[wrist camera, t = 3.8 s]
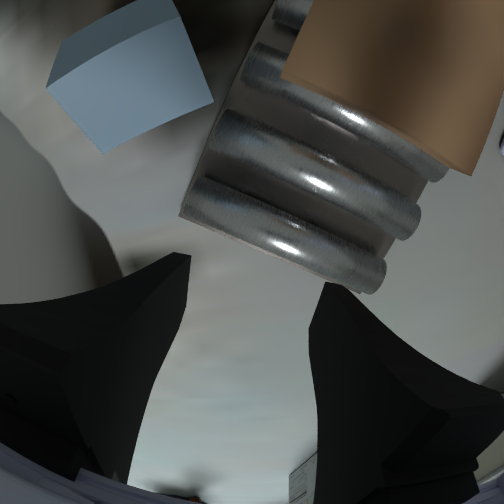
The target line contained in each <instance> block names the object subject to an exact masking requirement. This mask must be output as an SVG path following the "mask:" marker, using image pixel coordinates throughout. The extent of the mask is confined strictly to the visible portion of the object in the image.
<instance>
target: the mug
mask: <svg viewBox="0 0 504 504" xmlns="http://www.w3.org/2000/svg"><path fill="white" fill-rule="evenodd" d="M165 496H169V497H173V498H178V499H182V500H187V501H192V502H197V503H200V502H199V498H198V497H193V498H191V499H187V498H183V497H179V496H171V495H165ZM202 504H203V503H202Z"/></svg>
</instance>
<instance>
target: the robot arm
mask: <svg viewBox="0 0 504 504" xmlns="http://www.w3.org/2000/svg"><path fill="white" fill-rule="evenodd" d="M500 150H501V153H502V155H503V156H504V139H503V141H502V144H501V147H500ZM190 263H191V255H186V254H181V253H176V252H173V253H171V254H169V255H167V256H165V257H163V258H161V259H159V260H157V261H156V262H154V263H152V264H150V265H148V266H146V267H144V268H142V269H141V270H139V271H137V272H134V273H132V274H130V275H128V276H126V277H124V278H122V279H119V280H117V281H115V282H112V283H110V284H107V285H105V286H102V287H99V288H96V289H94V290H90V291H87V292H83V293H79V294H75V295H71V296H67V297H63V298H59V299H53V300H47V301H41V302H33V303H23V304H0V504H202V503H197V502H192V501H187V500H182V499H178V498H173V497H169V496H165V495H161V494H157V493H153V492H150V491H146V490H143V489H139V488H136V487H133V486H129V485H127V481H128V476H129V471H130V467H131V462H132V458H133V454H134V450H135V446H136V442H137V438H138V434H139V430H140V426H141V423H142V419H143V416H144V412H145V409H146V406H147V403H148V399H149V396H150V393H151V390H152V387H153V384H154V382H155V379H156V377H157V374H158V372H159V370H160V368H161V366H162V364H163V362H164V359H165V357H166V355H167V353H168V351H169V349H170V347H171V345H172V342H173V340H174V338H175V336H176V334H177V332H178V329H179V327H180V324H181V321H182V317H183V314H184V311H185V308H186V302H187V292H188V282H189V272H190ZM309 357H310V364H311V371H312V377H313V384H314V390H315V397H316V404H317V417H318V444H317V468H316V481H315V492H314V500H313V504H504V472H503V473H502V474H501V475H500V476H499V477H498V478H497V479H495V480H492V481H489V482H487V483H484V484H481V485H478V484H477V481H476V478H475V475H474V471H476V470H477V469H478V468H479V464H478V461H477V459H476V458H477V457H478V456H479V455H480V454H481V453H482V452H483V451H484V450H485V449H486V448H488V447H489V446H490V445H491V444H492V443H493V442H494V441H495V440H496V439H497V438H498V437H499V435H500V434H501V433H502V432H503V431H504V398H503V396H502V395H501V394H500V393H499V392H497V391H494V390H492V389H489V388H486V387H484V386H481V385H478V384H476V383H473V382H471V381H469V380H467V379H465V378H463V377H460V376H458V375H456V374H454V373H452V372H451V371H449V370H447V369H445V368H443V367H441V366H440V365H438V364H437V363H435V362H433V361H432V360H430V359H428V358H427V357H425V356H424V355H422V354H421V353H419V352H418V351H417V350H415V349H414V348H412V347H411V346H410V345H408V344H407V343H406V342H404V341H403V340H402V339H401V338H399V337H398V336H397V335H396V334H395V333H393V332H392V331H391V330H390V329H389V328H388V327H387V326H386V325H384V324H383V323H382V322H381V321H380V320H379V319H378V318H377V317H376V316H375V315H374V314H373V313H372V312H371V311H370V310H369V309H368V308H367V307H366V306H365V305H364V304H363V303H361V302H360V301H359V300H358V299H357V298H356V297H355V296H354V295H353V294H352V293H351V292H350V291H349V290H348V289H347V288H346V287H344V286H343V285H341V284H335V283H330V282H325V284H324V287H323V290H322V293H321V296H320V299H319V301H318V304H317V307H316V310H315V313H314V315H313V318H312V321H311V324H310V326H309Z"/></svg>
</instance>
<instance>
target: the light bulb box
mask: <svg viewBox="0 0 504 504" xmlns="http://www.w3.org/2000/svg"><path fill="white" fill-rule="evenodd" d="M316 468H317V453H316V454H315V455H314V456H313V457H311V458H310V459H309V460H308V461H307V462H306V463H304V464H303V465H302V466H301V467H300V468H298V469H297V470H296V471H295V472H294V473H292V474H291V475H290V476H289V504H313V500H314V492H315V481H316Z"/></svg>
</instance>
